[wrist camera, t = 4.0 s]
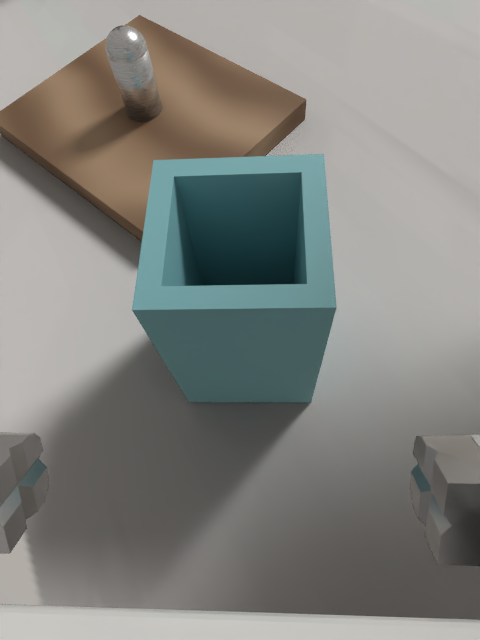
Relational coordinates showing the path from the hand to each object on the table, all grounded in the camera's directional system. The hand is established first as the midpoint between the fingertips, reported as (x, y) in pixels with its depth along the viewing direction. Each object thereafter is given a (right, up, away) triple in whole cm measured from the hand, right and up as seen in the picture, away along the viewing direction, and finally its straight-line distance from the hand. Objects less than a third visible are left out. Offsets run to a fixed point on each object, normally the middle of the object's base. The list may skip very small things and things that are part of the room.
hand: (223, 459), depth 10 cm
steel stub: (-6, +17, +20) cm, 27 cm away
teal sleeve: (+1, +2, +14) cm, 14 cm away
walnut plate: (-6, +16, +21) cm, 28 cm away
